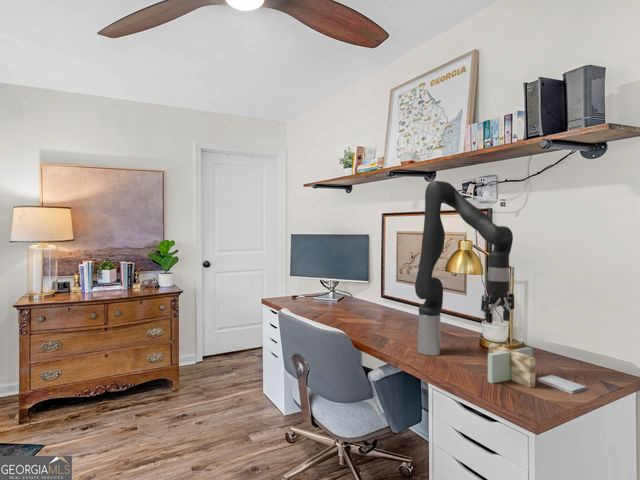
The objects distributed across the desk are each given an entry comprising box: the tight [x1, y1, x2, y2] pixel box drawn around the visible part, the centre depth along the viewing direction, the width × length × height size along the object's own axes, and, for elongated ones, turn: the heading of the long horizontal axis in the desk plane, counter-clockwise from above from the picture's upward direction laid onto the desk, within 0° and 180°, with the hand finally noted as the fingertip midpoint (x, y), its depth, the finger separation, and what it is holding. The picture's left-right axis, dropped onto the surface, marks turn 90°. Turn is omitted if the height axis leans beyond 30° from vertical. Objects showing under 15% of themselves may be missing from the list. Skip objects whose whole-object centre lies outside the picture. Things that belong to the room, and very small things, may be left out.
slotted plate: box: [487, 346, 534, 384], centre depth 143 cm, size 20×2×10 cm, turn 113°
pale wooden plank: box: [488, 343, 536, 389], centre depth 143 cm, size 18×2×10 cm, turn 23°
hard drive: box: [537, 374, 589, 395], centre depth 137 cm, size 2×8×12 cm
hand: (497, 321), depth 148 cm, fingers open, 8 cm apart
